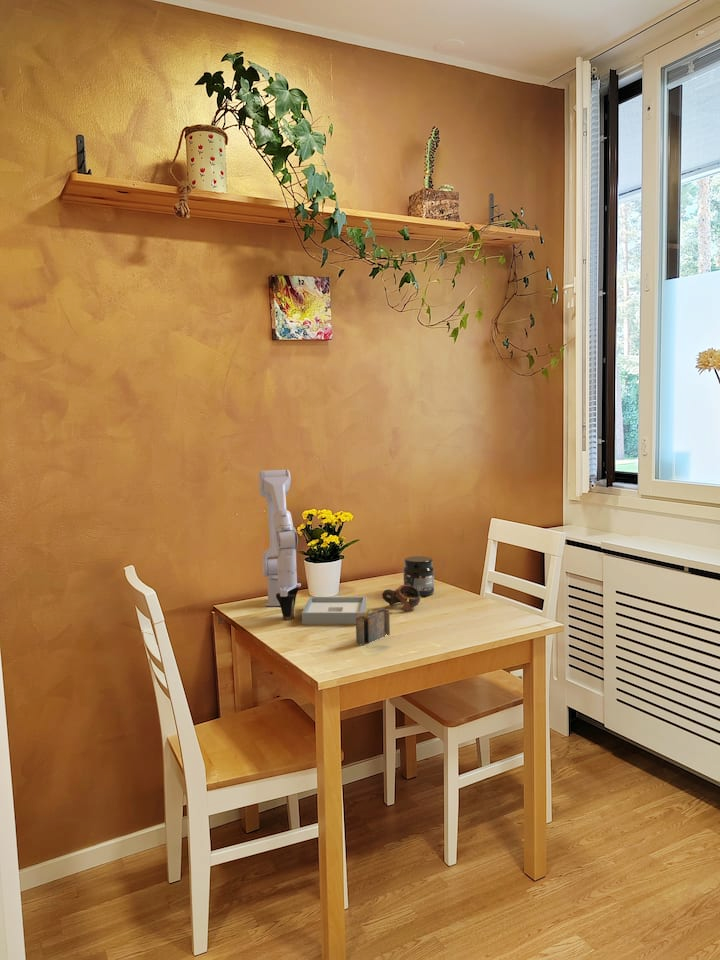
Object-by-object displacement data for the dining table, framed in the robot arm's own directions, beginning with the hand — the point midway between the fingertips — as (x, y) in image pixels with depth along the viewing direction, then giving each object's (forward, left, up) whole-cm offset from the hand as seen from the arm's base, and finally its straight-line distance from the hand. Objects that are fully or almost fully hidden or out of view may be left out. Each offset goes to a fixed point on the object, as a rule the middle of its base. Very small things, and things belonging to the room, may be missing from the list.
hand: (288, 613), depth 224 cm
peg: (0, 0, -2) cm, 2 cm away
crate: (-3, +14, -2) cm, 14 cm away
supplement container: (-29, +40, -2) cm, 49 cm away
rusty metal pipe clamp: (-12, +34, -2) cm, 36 cm away
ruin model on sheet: (+19, +27, -2) cm, 33 cm away
